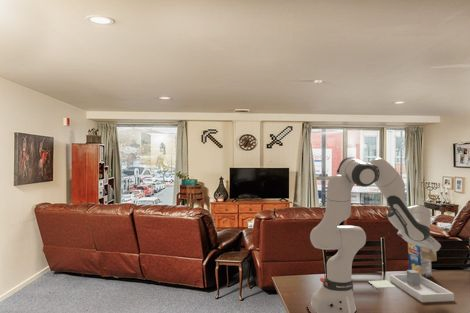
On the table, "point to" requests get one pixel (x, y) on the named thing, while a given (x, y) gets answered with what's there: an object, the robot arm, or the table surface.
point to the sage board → (381, 284)
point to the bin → (423, 289)
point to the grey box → (413, 277)
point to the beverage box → (418, 261)
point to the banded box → (428, 255)
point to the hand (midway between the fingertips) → (429, 250)
